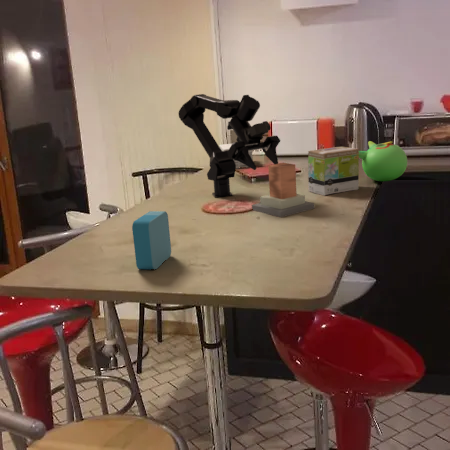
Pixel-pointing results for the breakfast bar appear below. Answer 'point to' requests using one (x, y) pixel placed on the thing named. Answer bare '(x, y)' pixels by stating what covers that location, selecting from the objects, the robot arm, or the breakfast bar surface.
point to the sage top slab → (282, 201)
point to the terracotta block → (282, 180)
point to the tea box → (333, 170)
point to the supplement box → (238, 164)
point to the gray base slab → (284, 211)
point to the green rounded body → (383, 161)
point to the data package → (151, 239)
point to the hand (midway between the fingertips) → (266, 166)
